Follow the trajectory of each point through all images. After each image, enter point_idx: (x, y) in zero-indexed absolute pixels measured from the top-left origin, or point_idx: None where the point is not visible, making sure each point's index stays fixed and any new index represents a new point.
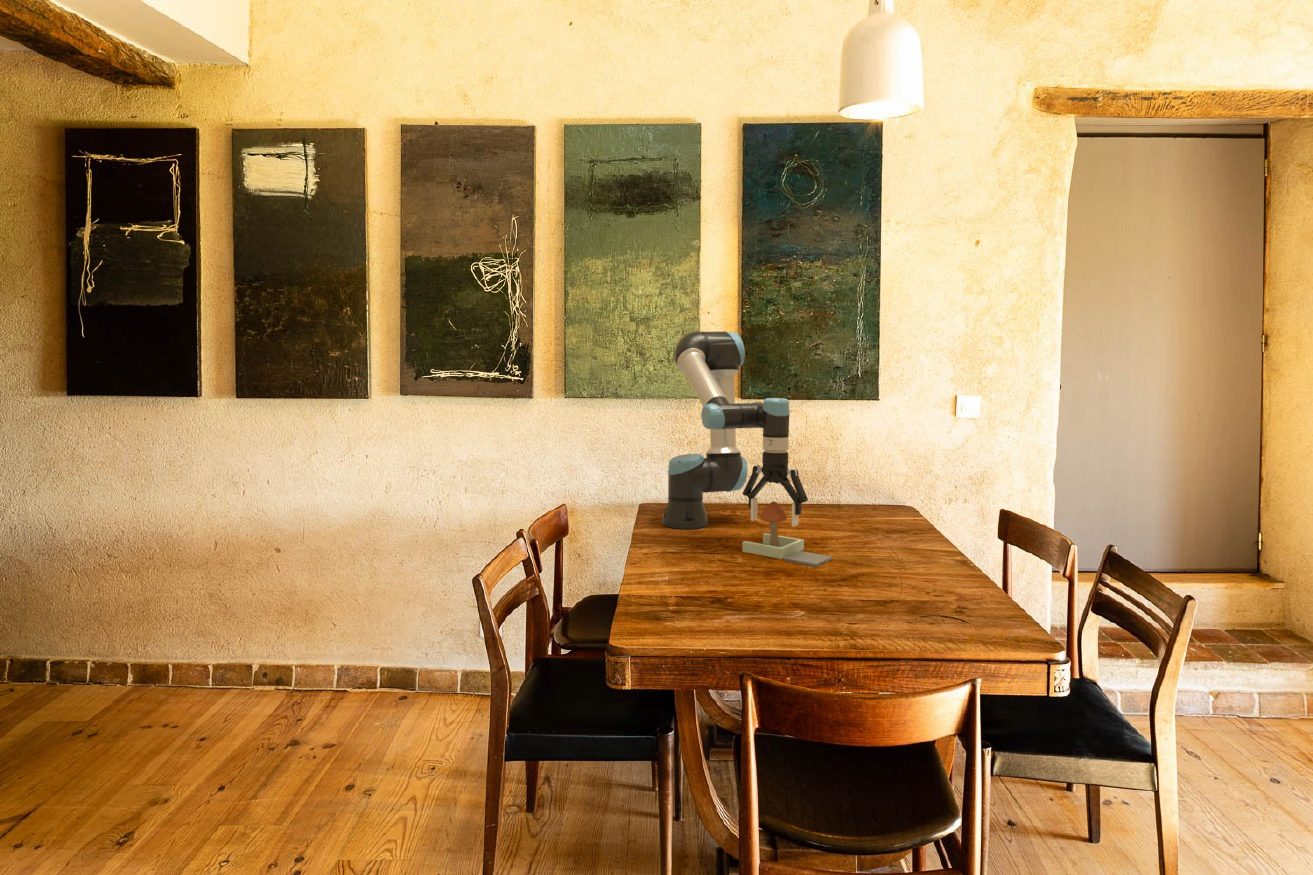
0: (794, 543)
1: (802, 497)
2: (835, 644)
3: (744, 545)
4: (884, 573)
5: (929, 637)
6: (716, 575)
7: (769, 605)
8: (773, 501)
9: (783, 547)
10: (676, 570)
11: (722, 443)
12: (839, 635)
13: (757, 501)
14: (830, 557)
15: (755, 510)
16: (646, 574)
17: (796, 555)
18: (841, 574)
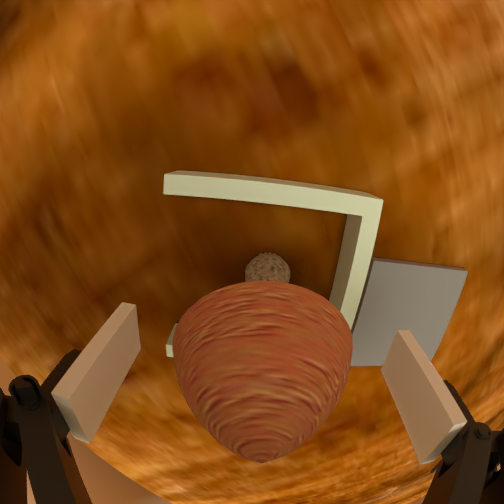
0: (361, 284)
1: (489, 480)
2: (418, 498)
3: None
4: None
5: None
6: (238, 473)
7: (356, 496)
8: (260, 462)
9: None
10: (163, 469)
11: None
12: (424, 491)
13: (83, 380)
14: (463, 283)
15: (115, 360)
16: (147, 482)
17: (372, 322)
18: (469, 368)
